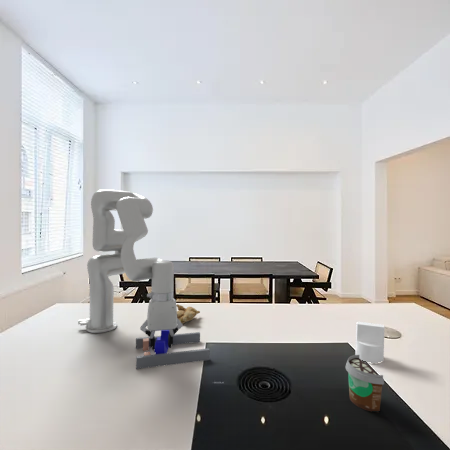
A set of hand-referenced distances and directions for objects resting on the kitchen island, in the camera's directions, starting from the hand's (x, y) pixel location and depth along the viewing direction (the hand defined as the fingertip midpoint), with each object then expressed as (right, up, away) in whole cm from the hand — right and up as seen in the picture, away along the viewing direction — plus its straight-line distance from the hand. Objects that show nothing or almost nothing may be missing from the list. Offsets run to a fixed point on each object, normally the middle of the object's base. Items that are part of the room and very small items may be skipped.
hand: (161, 346), depth 106 cm
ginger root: (+3, -2, +35) cm, 35 cm away
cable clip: (0, -2, 0) cm, 2 cm away
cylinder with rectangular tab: (+73, -4, 0) cm, 74 cm away
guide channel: (+3, -3, +1) cm, 4 cm away
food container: (+58, -5, -25) cm, 64 cm away
